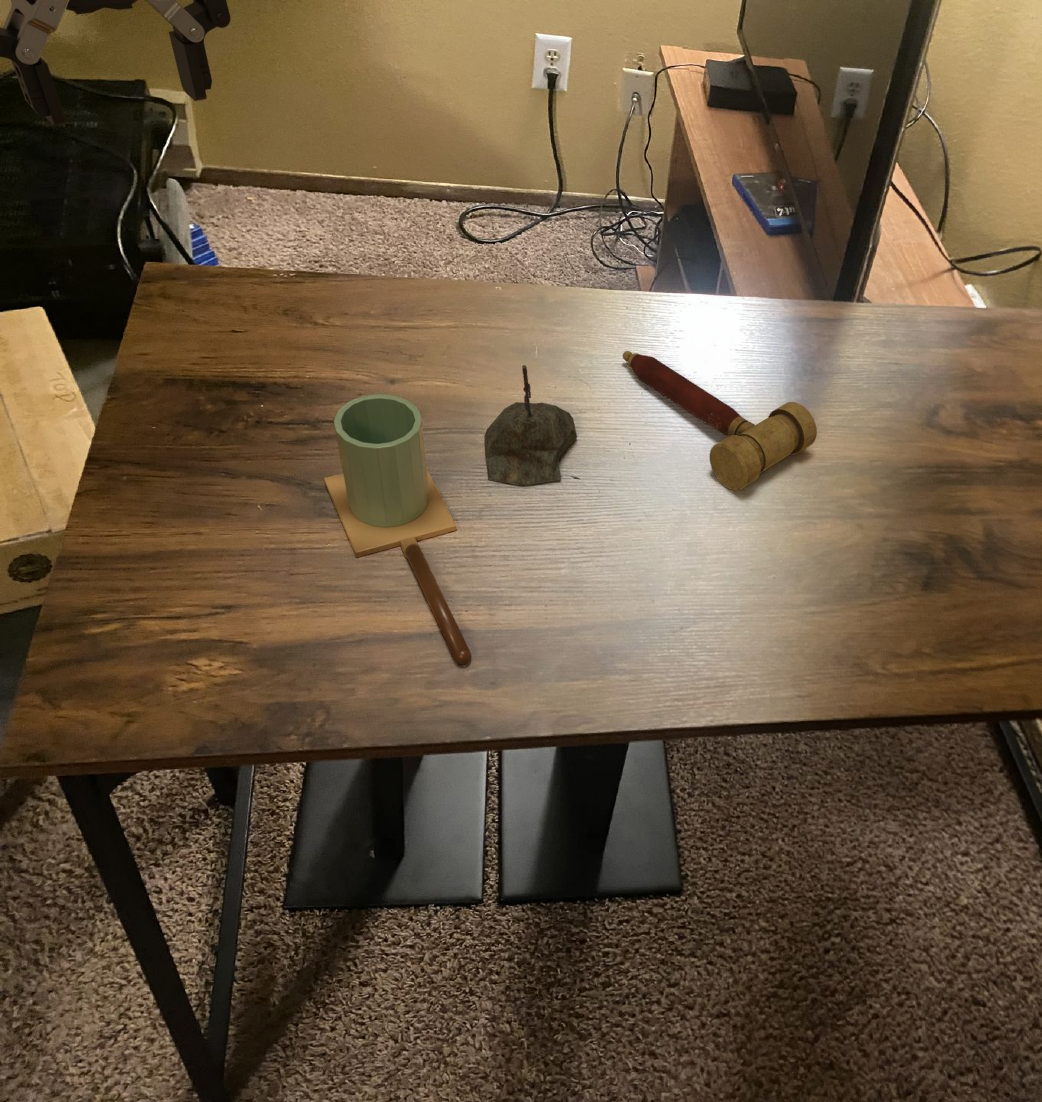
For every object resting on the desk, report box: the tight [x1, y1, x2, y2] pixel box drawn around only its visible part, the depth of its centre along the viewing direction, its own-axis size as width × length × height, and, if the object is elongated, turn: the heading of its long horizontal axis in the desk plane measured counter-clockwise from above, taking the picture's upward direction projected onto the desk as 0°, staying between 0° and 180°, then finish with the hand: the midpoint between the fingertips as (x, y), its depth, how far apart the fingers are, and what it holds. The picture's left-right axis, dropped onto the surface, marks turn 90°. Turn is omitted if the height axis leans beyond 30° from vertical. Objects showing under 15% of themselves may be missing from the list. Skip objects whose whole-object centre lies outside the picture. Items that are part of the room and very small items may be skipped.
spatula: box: [323, 467, 472, 665], centre depth 77 cm, size 22×8×1 cm, turn 31°
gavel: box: [622, 350, 818, 491], centre depth 94 cm, size 21×5×10 cm
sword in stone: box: [483, 364, 578, 487], centre depth 84 cm, size 10×8×12 cm
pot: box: [333, 393, 429, 527], centre depth 78 cm, size 6×6×8 cm
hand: (127, 107), depth 63 cm, fingers open, 8 cm apart
